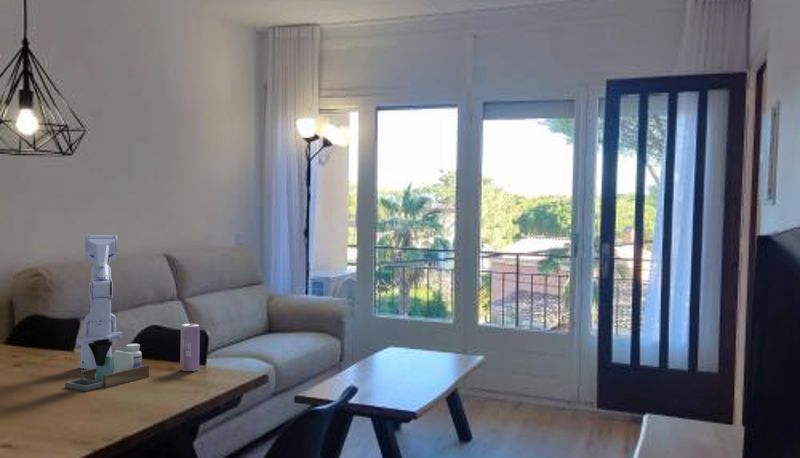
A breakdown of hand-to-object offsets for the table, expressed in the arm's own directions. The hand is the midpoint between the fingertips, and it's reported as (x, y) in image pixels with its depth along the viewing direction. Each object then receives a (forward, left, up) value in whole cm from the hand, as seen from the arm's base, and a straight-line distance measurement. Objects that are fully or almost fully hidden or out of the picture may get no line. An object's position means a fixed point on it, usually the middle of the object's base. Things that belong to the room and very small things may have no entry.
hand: (99, 365), depth 198 cm
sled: (0, +5, -5) cm, 7 cm away
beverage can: (+10, +27, -6) cm, 29 cm away
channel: (0, +6, -5) cm, 8 cm away
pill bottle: (0, +12, -6) cm, 13 cm away
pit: (0, -5, -5) cm, 8 cm away
